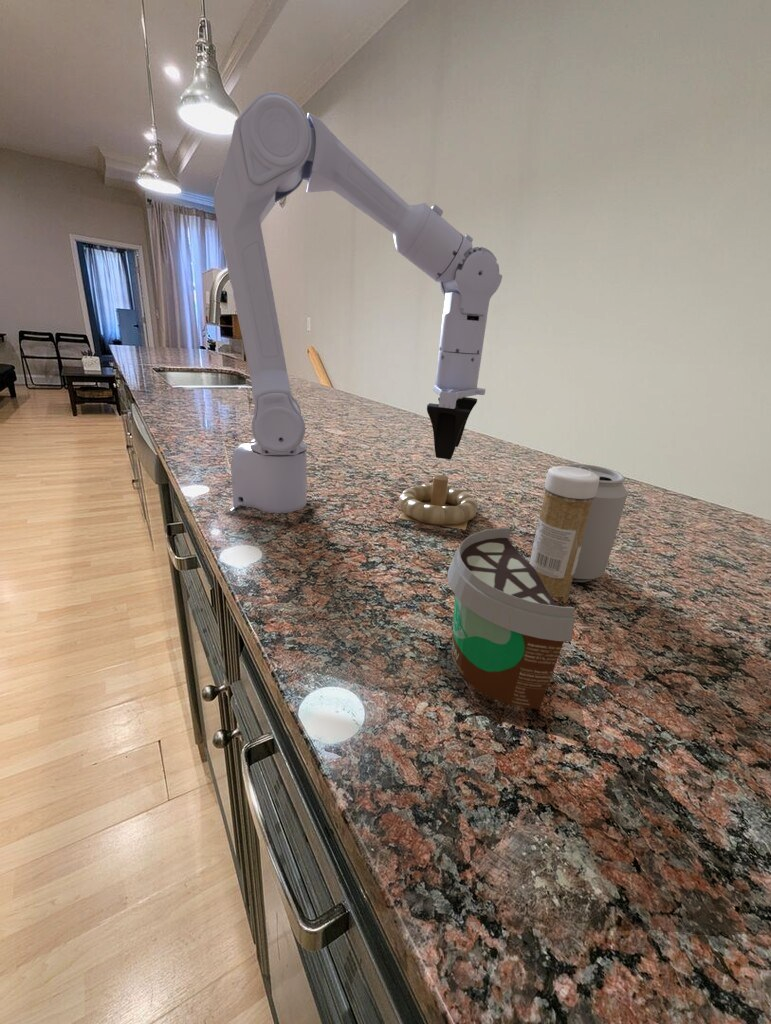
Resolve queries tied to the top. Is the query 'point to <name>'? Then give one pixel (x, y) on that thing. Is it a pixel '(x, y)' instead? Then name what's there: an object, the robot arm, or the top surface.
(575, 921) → the top surface
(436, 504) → the post
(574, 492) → the spice jar
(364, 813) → the top surface
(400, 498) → the ring
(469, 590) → the food container
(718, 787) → the top surface
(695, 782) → the top surface
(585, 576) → the can
